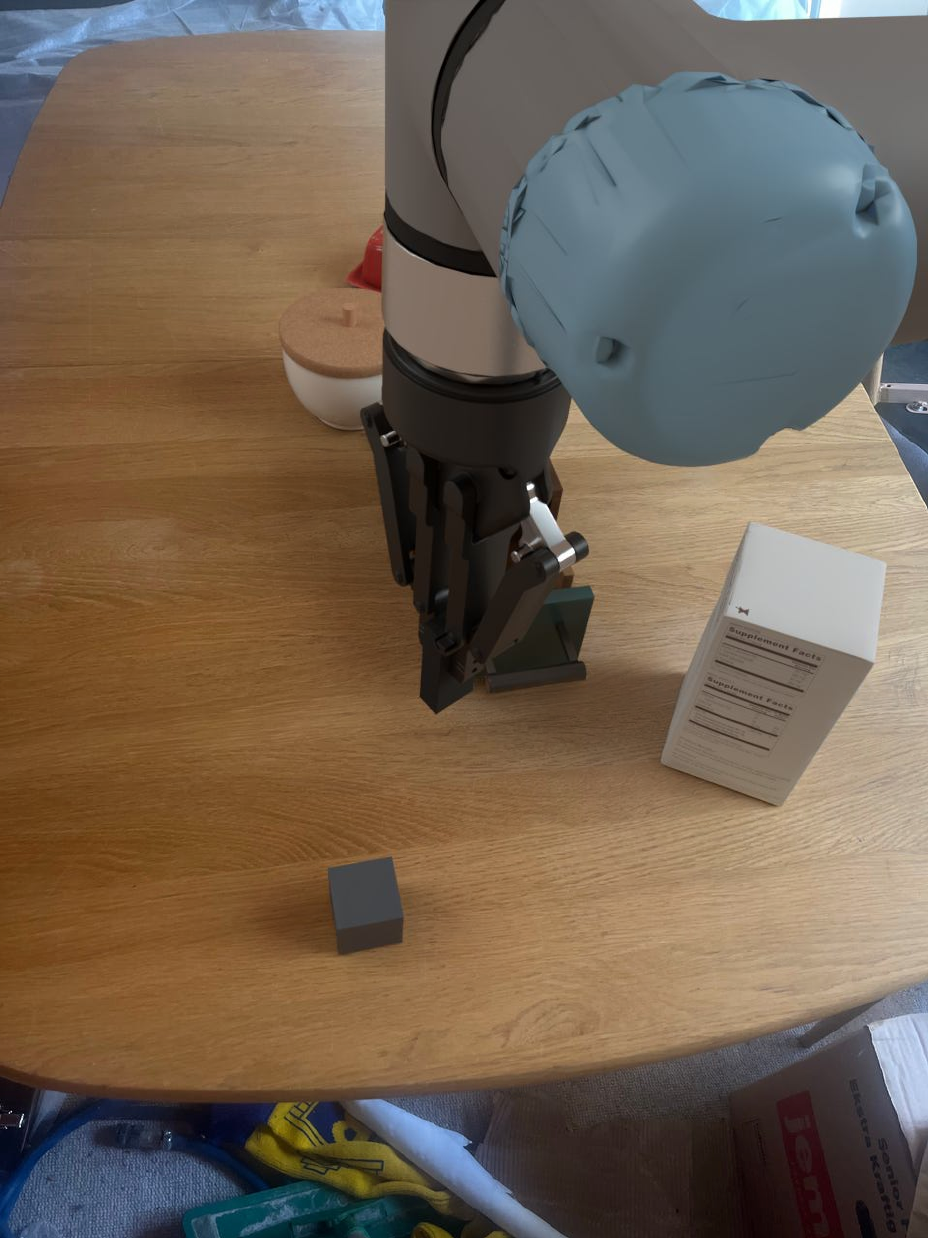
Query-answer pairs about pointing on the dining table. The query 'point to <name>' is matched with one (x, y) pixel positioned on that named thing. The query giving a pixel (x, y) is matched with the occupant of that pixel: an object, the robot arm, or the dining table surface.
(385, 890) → the block
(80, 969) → the dining table surface
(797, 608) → the supplement box
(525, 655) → the drawer
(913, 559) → the dining table surface
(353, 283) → the butter dish
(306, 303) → the lidded bowl
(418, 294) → the robot arm
